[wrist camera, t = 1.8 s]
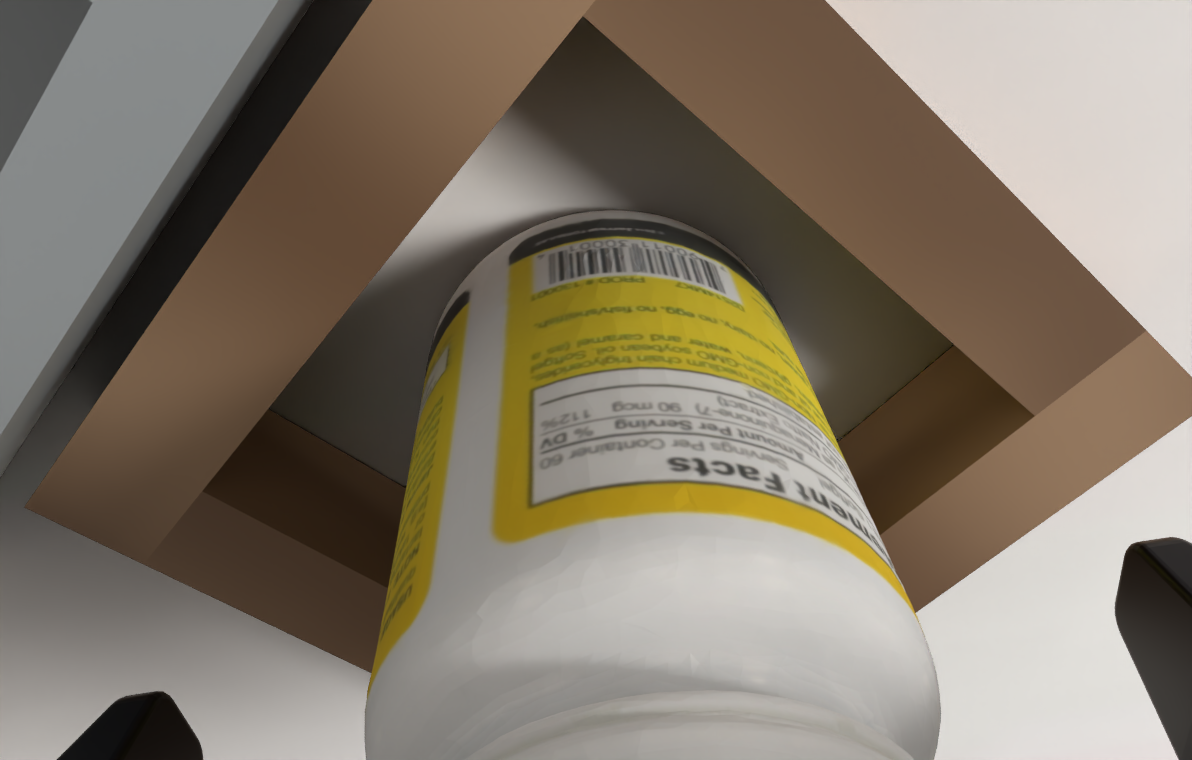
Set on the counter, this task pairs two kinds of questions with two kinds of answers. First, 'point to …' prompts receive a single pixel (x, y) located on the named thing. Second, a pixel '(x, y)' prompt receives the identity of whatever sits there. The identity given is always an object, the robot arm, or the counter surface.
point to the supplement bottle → (635, 526)
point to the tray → (104, 159)
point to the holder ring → (426, 166)
